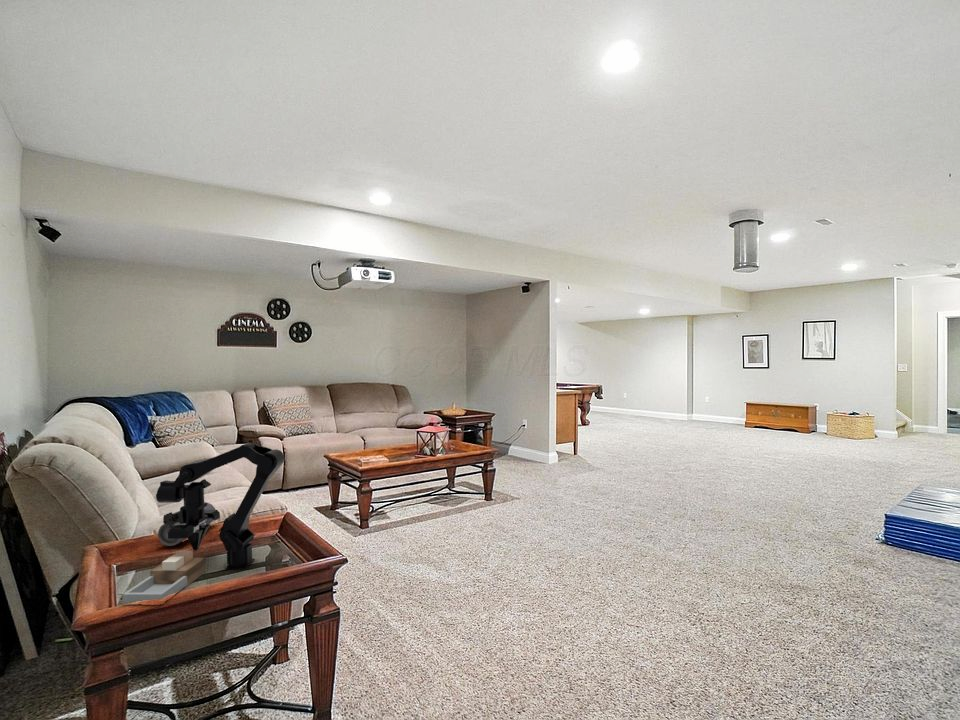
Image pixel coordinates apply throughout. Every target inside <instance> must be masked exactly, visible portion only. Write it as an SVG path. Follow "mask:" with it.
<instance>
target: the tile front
mask: <svg viewBox="0 0 960 720" xmlns="http://www.w3.org/2000/svg"><path fill="white" fill-rule="evenodd" d="M161 564H162V571H163V570H177V569H179V568H180V567H181V566H183V565H184V556H172V555H171V556H169V557H168V558H166V559H164V560H163V561H162V562H161Z"/></svg>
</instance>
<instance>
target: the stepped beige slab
mask: <svg viewBox="0 0 960 720" xmlns="http://www.w3.org/2000/svg"><path fill="white" fill-rule="evenodd" d="M149 573H150V575H149V576H154V584H173V583H175V582H176V581H177V580H179V579H180V578H181V577H183V576H187V587H188V586H189V585H191V584H192V583H193V582H195V581H196V580H198V579H199V578H200V577H202V576H203V574H205V573H206V558H205V557H193V559H192V560H190V561H189V562H187V563H186V564H184V565H183V566H181V567H180V568H179V569H177V570H163V571H162V563H160V564H159V565H157V566H156V567H154V568H152V569H151V570H150V572H149Z"/></svg>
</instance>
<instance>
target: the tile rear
mask: <svg viewBox="0 0 960 720" xmlns="http://www.w3.org/2000/svg"><path fill="white" fill-rule="evenodd" d="M193 551H194V550H179V551H178V552H175V553H174V554H173V555H171V556H184V564H186V563H187V562H189V561H190V560H192V559H193V558H194V552H193Z"/></svg>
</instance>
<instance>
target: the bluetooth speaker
mask: <svg viewBox="0 0 960 720" xmlns="http://www.w3.org/2000/svg"><path fill="white" fill-rule="evenodd" d="M205 510H216V508H215V506H214V505H213V504H211V503H210V502H207V506H206V507H205ZM213 521H214V520H213V519H212V518H209V519H207V520H206V521H205V523H206V525H208V524H209V525H211V524H212V522H213ZM176 525H186V524H185V523H184V524H179V522H178V523H175V524H173V525H172V526H168V525H165V524H164V523H163V524H162V525H160V527H159V529H158V531H157V538H158V540H159V542H160V543H161V544H162V545H164V546H168V547H171V546H172V547H173V546H176V545H178V544H180V542H182V541H183V540H185V539H186V538H177V539H168V538H167V531H168V530H169V529H171V528H172V527H174V526H176Z"/></svg>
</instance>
